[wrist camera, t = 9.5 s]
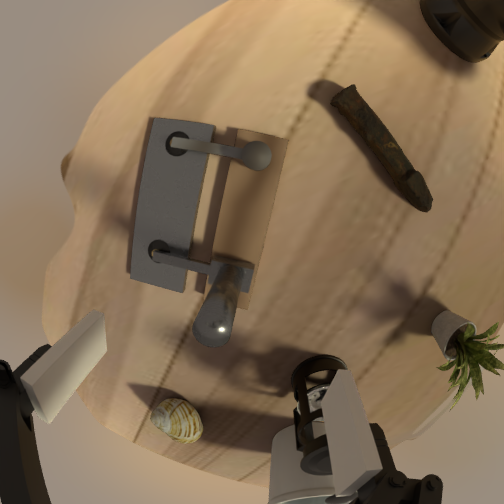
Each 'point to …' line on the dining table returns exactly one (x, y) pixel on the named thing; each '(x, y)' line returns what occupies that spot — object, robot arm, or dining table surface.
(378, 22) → the dining table surface
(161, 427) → the seashell
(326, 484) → the utensil holder
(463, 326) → the house plant
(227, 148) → the grey lever handle base
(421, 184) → the hand tool
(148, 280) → the bolt plate
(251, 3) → the dining table surface
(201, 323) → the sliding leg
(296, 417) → the french press
